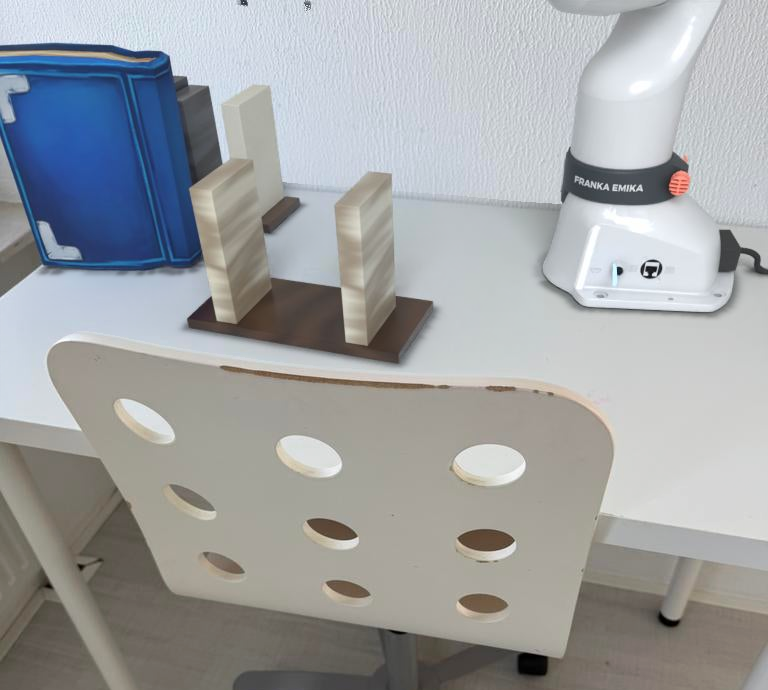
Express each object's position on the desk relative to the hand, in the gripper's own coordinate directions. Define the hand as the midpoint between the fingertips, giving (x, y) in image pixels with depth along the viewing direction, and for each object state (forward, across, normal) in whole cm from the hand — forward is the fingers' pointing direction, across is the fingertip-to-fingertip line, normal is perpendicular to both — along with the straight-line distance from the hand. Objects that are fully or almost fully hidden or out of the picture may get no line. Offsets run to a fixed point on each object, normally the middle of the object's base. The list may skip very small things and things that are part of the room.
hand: (275, 3), depth 101 cm
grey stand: (+13, -5, +24) cm, 27 cm away
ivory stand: (+40, +16, +18) cm, 47 cm away
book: (+30, -13, +22) cm, 39 cm away
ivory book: (+13, 0, +22) cm, 25 cm away
